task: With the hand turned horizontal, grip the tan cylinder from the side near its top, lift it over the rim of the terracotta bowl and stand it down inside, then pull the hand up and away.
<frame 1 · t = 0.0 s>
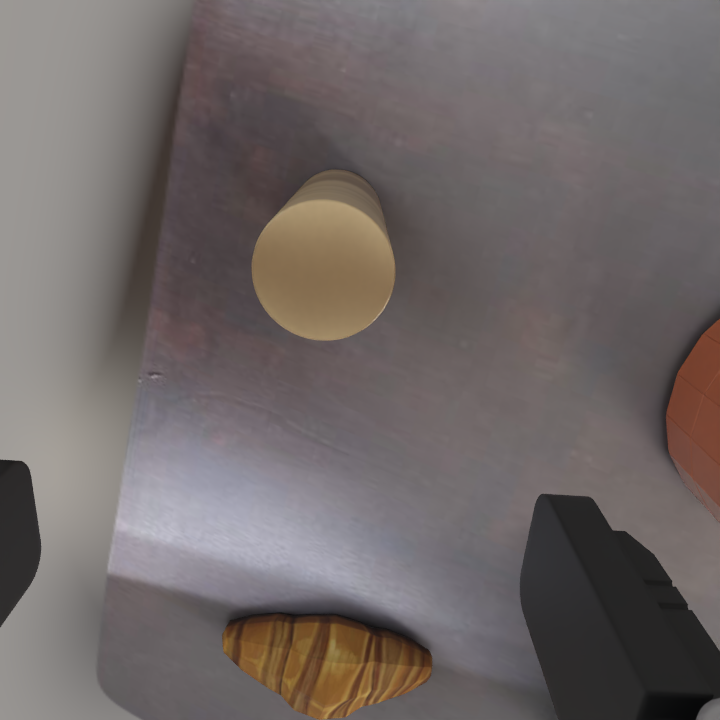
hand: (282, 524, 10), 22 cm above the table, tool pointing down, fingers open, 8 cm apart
tan cylinder: (337, 216, 30), on the table
croissant: (329, 634, 40), on the table
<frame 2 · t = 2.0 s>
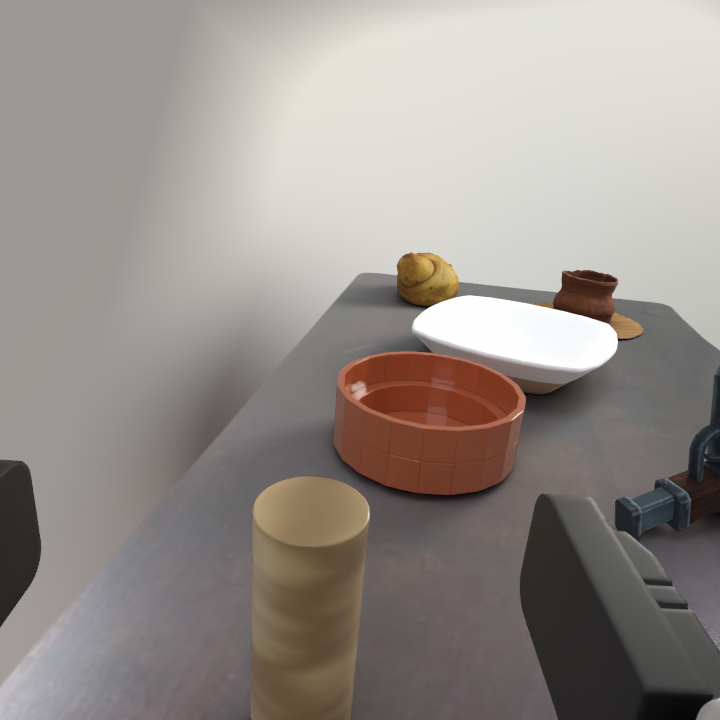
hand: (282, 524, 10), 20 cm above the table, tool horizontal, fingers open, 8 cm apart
bread roll: (424, 299, 96), on the table
ceramic pot: (580, 321, 91), on the table
clay bowl: (422, 449, 52), on the table
bowl: (508, 370, 71), on the table
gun: (701, 524, 45), on the table
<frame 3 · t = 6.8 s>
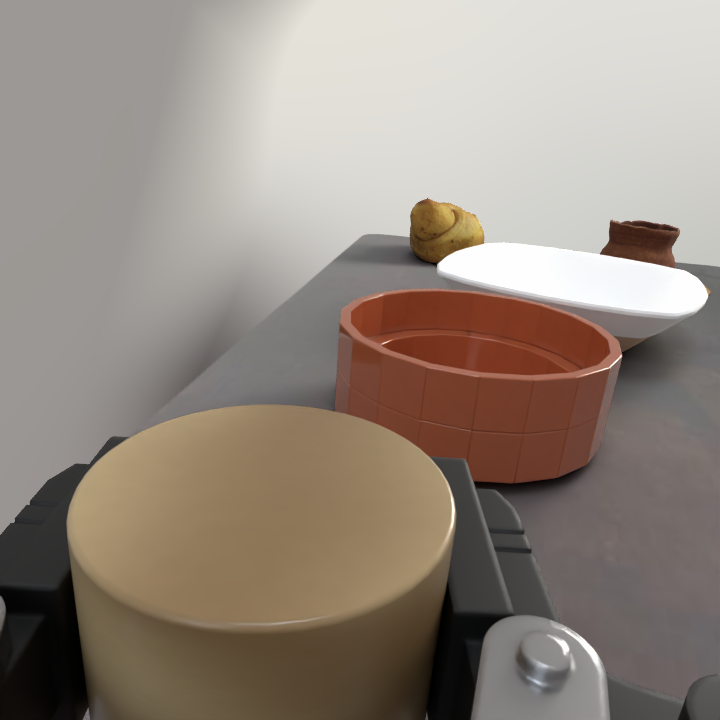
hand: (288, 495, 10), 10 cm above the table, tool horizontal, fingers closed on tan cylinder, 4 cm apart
bread roll: (442, 259, 81), on the table
ceramic pot: (631, 282, 76), on the table
clay bowl: (462, 420, 36), on the table
bowl: (558, 329, 55), on the table
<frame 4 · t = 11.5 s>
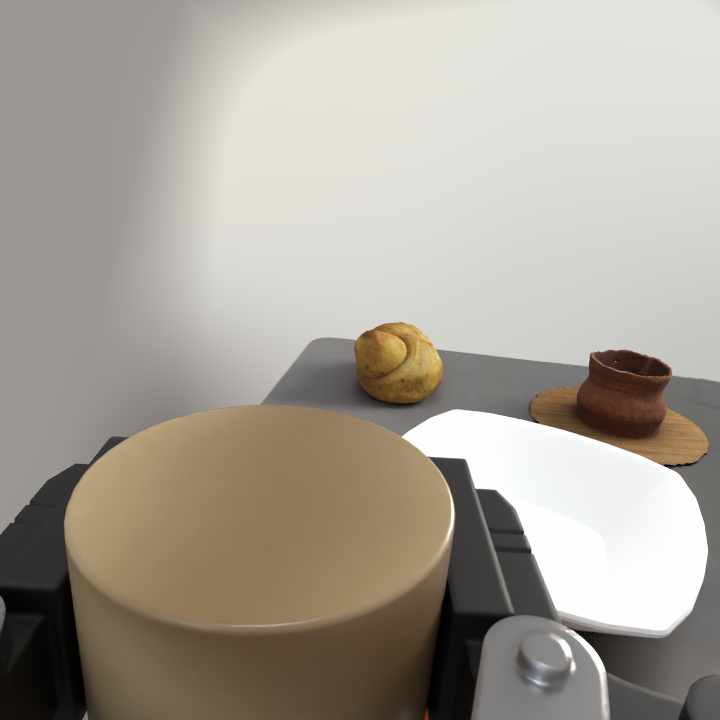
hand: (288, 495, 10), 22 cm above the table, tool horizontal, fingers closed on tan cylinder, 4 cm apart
bread roll: (396, 387, 69), on the table
ceramic pot: (615, 424, 64), on the table
bowl: (518, 555, 43), on the table
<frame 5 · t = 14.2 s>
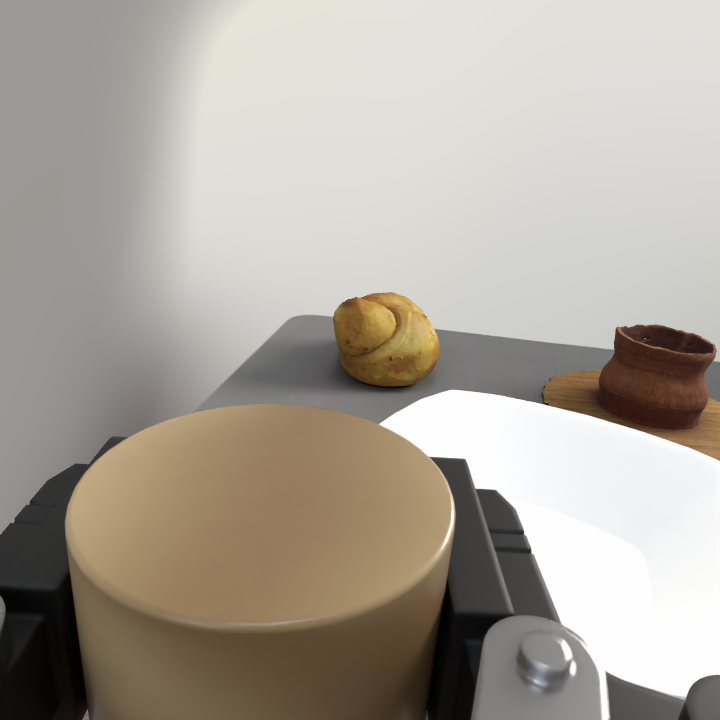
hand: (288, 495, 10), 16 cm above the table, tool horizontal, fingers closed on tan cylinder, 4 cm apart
bread roll: (384, 369, 59), on the table
ceramic pot: (644, 413, 54), on the table
bowl: (532, 576, 33), on the table
when the fingers open (11 cm above the table, at t = 16.2 s): tan cylinder stays where it is, resting on clay bowl.
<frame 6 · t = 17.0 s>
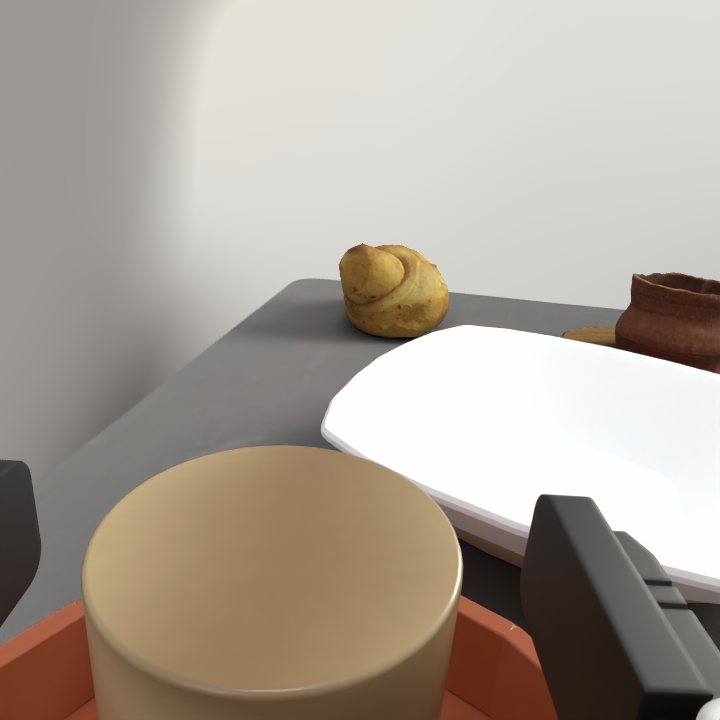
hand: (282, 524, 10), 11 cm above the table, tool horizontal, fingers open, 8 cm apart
bread roll: (392, 324, 57), on the table
ceramic pot: (663, 363, 52), on the table
bowl: (555, 503, 31), on the table
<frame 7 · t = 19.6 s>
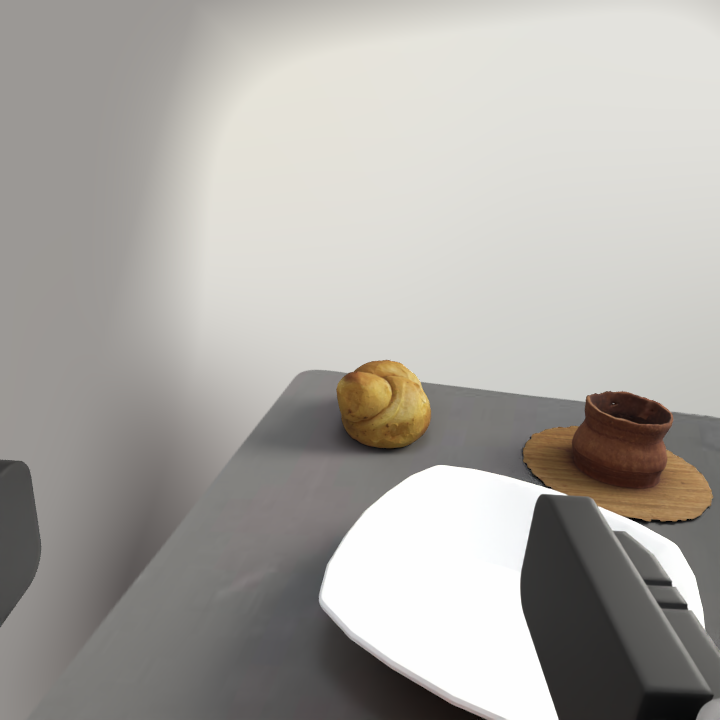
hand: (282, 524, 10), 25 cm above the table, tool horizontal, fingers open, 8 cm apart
bread roll: (382, 428, 66), on the table
ceramic pot: (612, 471, 61), on the table
bowl: (501, 634, 40), on the table
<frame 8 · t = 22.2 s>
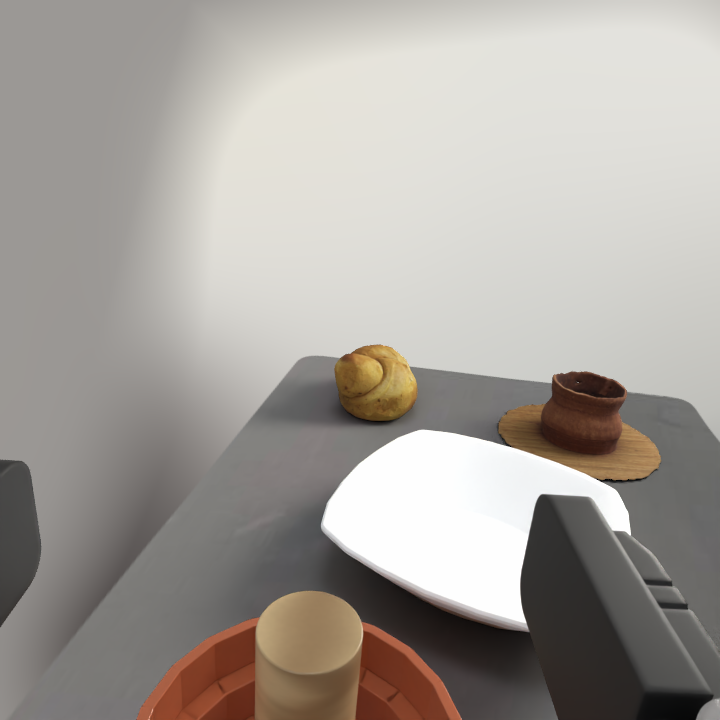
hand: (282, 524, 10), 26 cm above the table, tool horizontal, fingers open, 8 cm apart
bread roll: (375, 405, 74), on the table
ceramic pot: (576, 440, 69), on the table
bowl: (470, 563, 48), on the table
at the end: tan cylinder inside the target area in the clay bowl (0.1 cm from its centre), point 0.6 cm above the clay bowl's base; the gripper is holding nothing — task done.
